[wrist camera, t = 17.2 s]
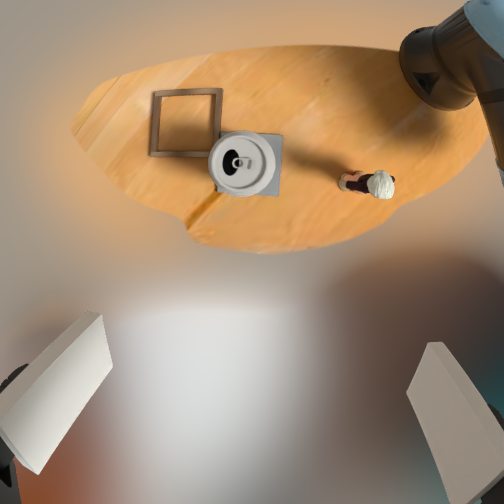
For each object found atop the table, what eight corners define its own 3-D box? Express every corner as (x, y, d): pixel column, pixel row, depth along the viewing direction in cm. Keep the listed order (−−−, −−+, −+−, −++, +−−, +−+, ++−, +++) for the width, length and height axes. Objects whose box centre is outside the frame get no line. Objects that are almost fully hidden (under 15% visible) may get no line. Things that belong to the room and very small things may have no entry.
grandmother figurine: (337, 200, 42) (360, 215, 30) (329, 176, 41) (349, 181, 29) (382, 185, 41) (418, 195, 29) (375, 161, 40) (410, 162, 28)
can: (226, 136, 40) (208, 126, 29) (278, 141, 40) (279, 132, 28) (221, 186, 42) (201, 194, 31) (272, 192, 42) (270, 202, 30)
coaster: (283, 135, 40) (283, 135, 39) (278, 196, 43) (278, 196, 42) (221, 132, 40) (220, 132, 40) (218, 191, 43) (217, 192, 43)
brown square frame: (223, 89, 38) (222, 88, 37) (218, 157, 42) (217, 157, 41) (157, 92, 39) (155, 91, 38) (153, 156, 42) (150, 156, 41)
